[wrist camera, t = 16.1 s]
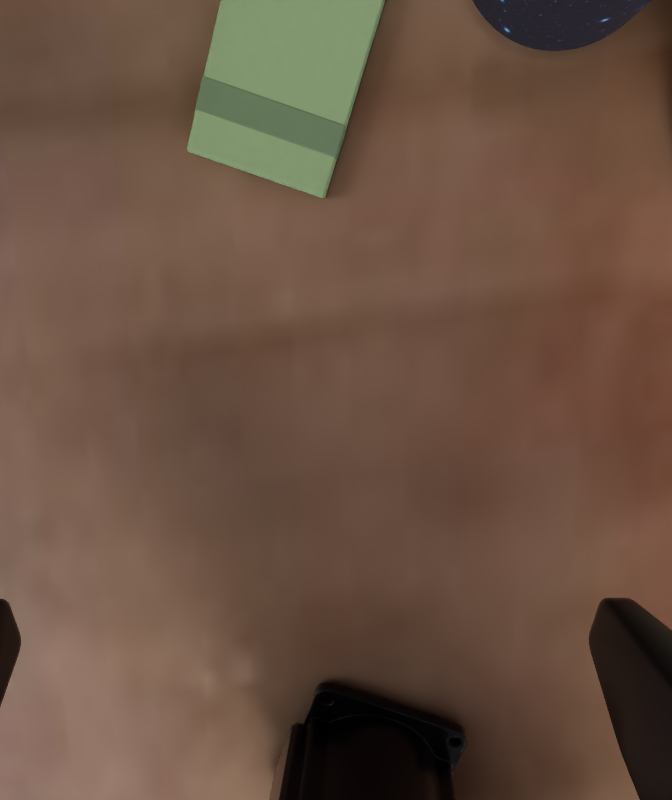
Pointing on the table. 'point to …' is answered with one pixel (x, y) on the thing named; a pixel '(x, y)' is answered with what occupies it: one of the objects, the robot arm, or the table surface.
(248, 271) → the table surface
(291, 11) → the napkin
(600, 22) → the beverage can
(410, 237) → the table surface
